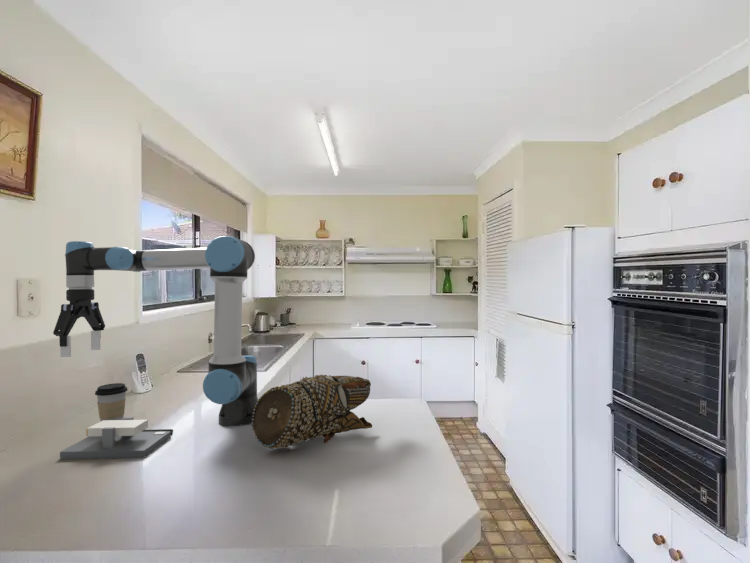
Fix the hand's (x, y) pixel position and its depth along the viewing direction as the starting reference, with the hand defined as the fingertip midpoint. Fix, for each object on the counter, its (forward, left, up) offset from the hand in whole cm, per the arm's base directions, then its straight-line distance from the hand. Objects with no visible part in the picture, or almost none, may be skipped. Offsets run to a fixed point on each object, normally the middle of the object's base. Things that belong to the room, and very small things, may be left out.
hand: (81, 353), depth 134 cm
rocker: (-18, +10, -22) cm, 31 cm away
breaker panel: (-18, +11, -27) cm, 34 cm away
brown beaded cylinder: (-78, +6, -27) cm, 83 cm away
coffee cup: (-6, -5, -27) cm, 29 cm away
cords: (-21, +1, -27) cm, 35 cm away
